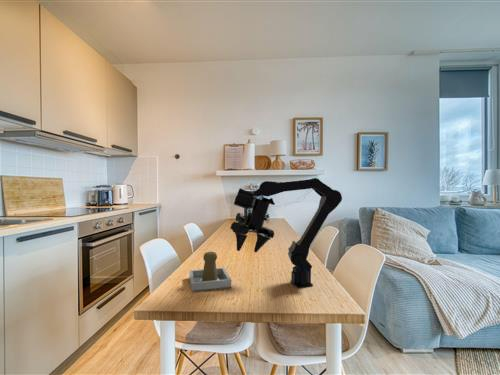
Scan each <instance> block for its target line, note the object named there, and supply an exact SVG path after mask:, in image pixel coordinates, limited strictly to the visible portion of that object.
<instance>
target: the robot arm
mask: <svg viewBox="0 0 500 375" xmlns="http://www.w3.org/2000/svg"><path fill="white" fill-rule="evenodd" d="M310 189H312V190H314V192H315V193H316V194H318V196H320V200H319V203H318V207H317V209H316V211H315V213H314V215H313V216H312V218H311V219H310V222H309V223H308V225H307V227H306V229H305V230H304V232H303V234H302V235H301V237H300V239H298V240H297V241H295V240H293V241H292V242H291V245H290V246H289V247H288V248H287V249H288V252H287V255H288V258H289V260H290V262H291V264H292V265H294V266H292V270H291V273H290V274H291V277H290V278H291V279H290V282H291V283H292V284H293V285H294V286H295V287H297V288H305V287H312V286H313V287H314V284H313V283H312V272H311V271H312V268H313V266H312V264H311V263H310V261H308V257H309V251H310V247H311V246H312V243H313V242H314V240H315V238H316V236H317V235H318V233H319V231H320V230H321V228H322V226H323V225H324V223H325V221H326V219H327V218H328V216H329V214H330V213H331V212H333V211H335V209H336V208H337V207H339V205H340V204H341V202H342V200H343V196H342V193H341V192H340V191H339V190H336V189H333V188H332V187H330V186H328V185H327V184H326V183H324V182H323V181H322V180H321V179H319V178H318V177H317V178H316V177H313V178H310V179H309V178H308V179H302V180H301V179H300V180H292V181H291V180H290V181H271V180H270V181H267V180H266V181H265V180H264V181H263V182H261V183H260V184H259V186H258V188H257V189H256V190H254V191H253V192H251V191H248V190H246V189H243V188H239V189H238V192H237V194H236V196H235V199H234V203H233V205H234V206H237V207H239V208H243V209H246V210H248V209H249V208H252V209H251V212H248V213H247V215H244V213H243V212H237V213H236V215H235V221H233V222H232V223H231V224H230V227H229V228H230V229H231V230H232V232H233V233H234V234H235V238H236V240H235V241H236V251H238V252H240V250H241V249H242V247H243V245H244V244H245V242H246V239H247V237H248V235H247V234H248V233H255V234H256V241H255V246H254V250H253V251H254V253H258V251H259V250H260V249H261V248H263V246H264V245H265V244H266V243H268V241H269V240H271V239H272V238H274V237H275V231H274V230H273V229H271V228H269V227H266V226H264V222H267V221H268V217H267V213H268V211H269V210H268V209H269V207H270V205H273V206H275V204H276V203H275V202H274V199H273V198H272V196H275V195H277V194H281V193H284V192H291V191H302V190H310ZM261 196H262V197H261ZM258 197H261V198H258ZM267 197H270V198H267Z"/></svg>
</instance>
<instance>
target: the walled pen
mask: <svg viewBox="0 0 500 375" xmlns="http://www.w3.org/2000/svg"><path fill="white" fill-rule="evenodd" d="M203 270H204V268H203V269H191V270H189V282H190V289H191V293H195V292H196V293H197V292H205V291H215V290H216V291H217V290H225V289H231V288H232V278H231V277H230V276H229V274H228V271H226V268H225V267H216V270H217V279H218V280H213V281H202V277H203Z"/></svg>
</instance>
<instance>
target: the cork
mask: <svg viewBox="0 0 500 375" xmlns="http://www.w3.org/2000/svg"><path fill="white" fill-rule="evenodd" d="M202 258H203V261H204V264H203V269H204V270H203V277H202V281H213V280H218V279H217V270H216V268H217V264H216V262H217V259H218V254H217V252H215V251H207V252H204V254H203V257H202Z"/></svg>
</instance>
